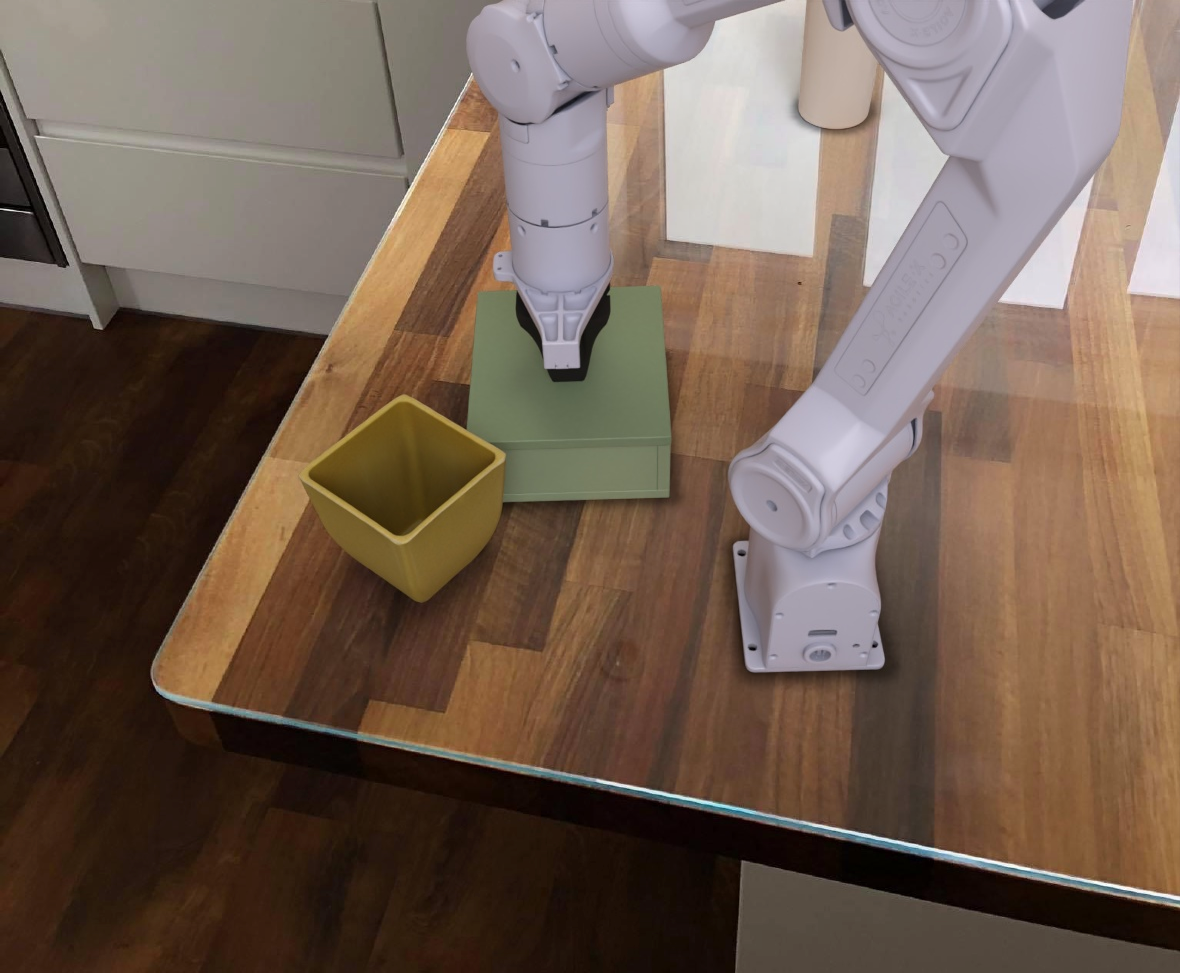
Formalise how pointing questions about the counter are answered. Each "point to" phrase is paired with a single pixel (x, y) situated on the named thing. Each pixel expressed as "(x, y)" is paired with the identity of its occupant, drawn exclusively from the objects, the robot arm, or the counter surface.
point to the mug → (834, 73)
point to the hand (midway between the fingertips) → (568, 374)
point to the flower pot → (409, 495)
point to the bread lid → (571, 409)
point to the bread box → (587, 473)
